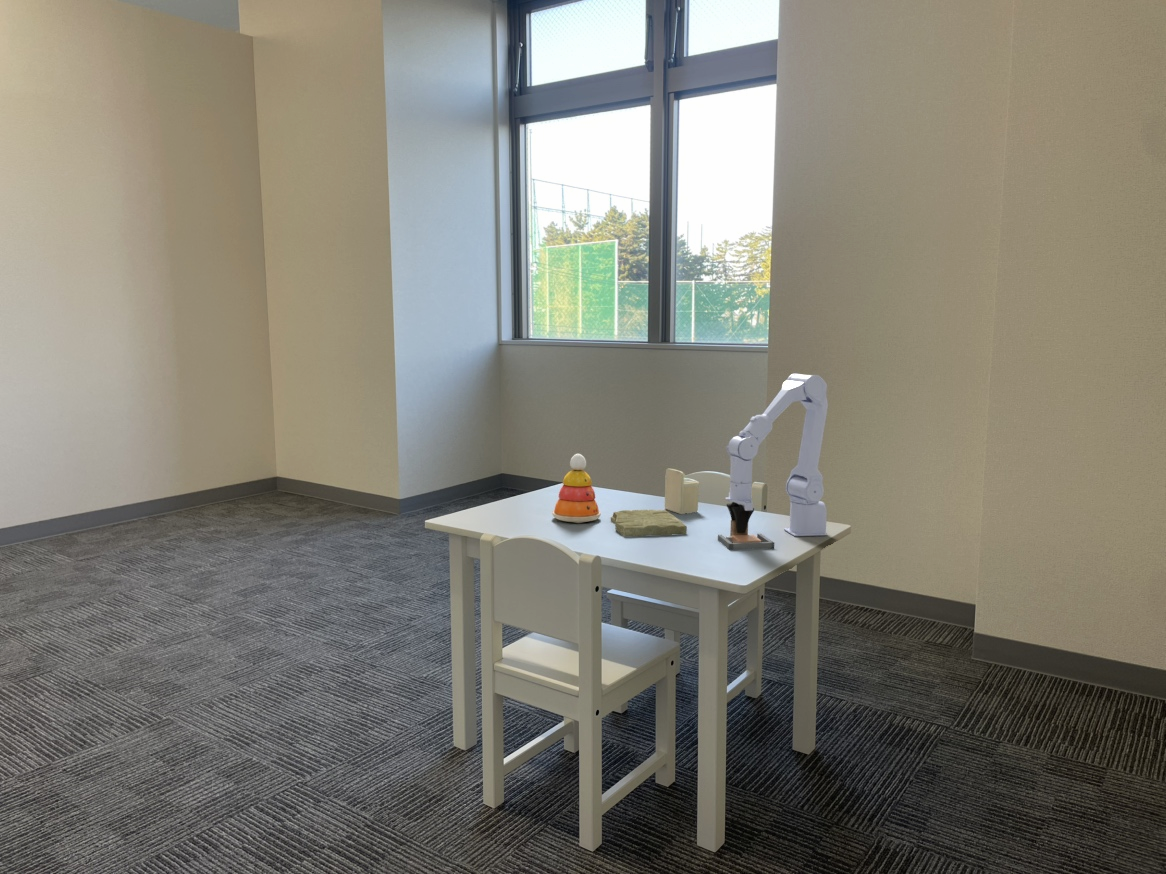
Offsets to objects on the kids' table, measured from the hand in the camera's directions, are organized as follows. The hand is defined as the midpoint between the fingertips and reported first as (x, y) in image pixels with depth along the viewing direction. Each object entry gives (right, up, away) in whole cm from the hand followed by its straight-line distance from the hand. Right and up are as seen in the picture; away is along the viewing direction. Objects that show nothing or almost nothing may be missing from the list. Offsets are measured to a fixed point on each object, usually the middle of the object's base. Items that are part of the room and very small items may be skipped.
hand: (739, 531), depth 232 cm
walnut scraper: (0, -2, 0) cm, 2 cm away
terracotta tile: (+1, -3, -5) cm, 6 cm away
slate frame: (+1, -3, -5) cm, 6 cm away
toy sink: (-11, +2, +36) cm, 37 cm away
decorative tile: (-24, -1, +14) cm, 28 cm away
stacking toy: (-44, +1, +23) cm, 49 cm away
